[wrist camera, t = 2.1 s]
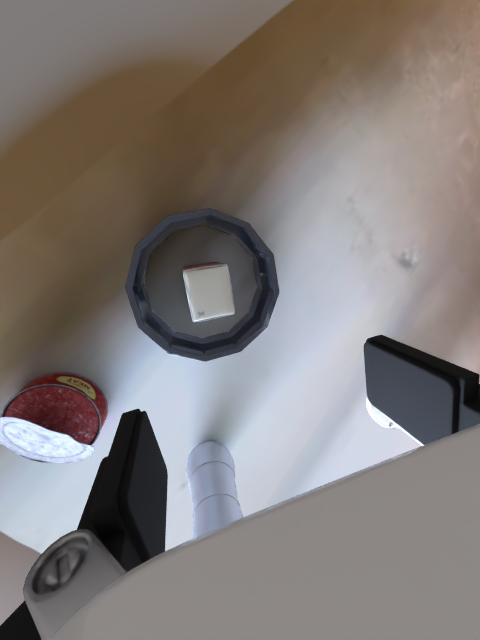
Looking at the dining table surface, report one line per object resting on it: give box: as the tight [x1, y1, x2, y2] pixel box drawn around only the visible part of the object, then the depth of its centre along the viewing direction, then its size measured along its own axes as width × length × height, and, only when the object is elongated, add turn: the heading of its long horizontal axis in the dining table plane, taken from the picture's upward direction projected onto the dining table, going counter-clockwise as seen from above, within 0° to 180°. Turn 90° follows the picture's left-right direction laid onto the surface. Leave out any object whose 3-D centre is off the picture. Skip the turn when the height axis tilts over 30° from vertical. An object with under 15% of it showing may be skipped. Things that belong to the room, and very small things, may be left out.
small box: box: [183, 262, 235, 323], centre depth 28 cm, size 5×4×8 cm
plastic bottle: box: [186, 441, 243, 539], centre depth 29 cm, size 6×7×20 cm
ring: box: [125, 208, 279, 361], centre depth 30 cm, size 15×15×5 cm
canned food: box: [0, 373, 107, 463], centre depth 29 cm, size 11×10×10 cm
